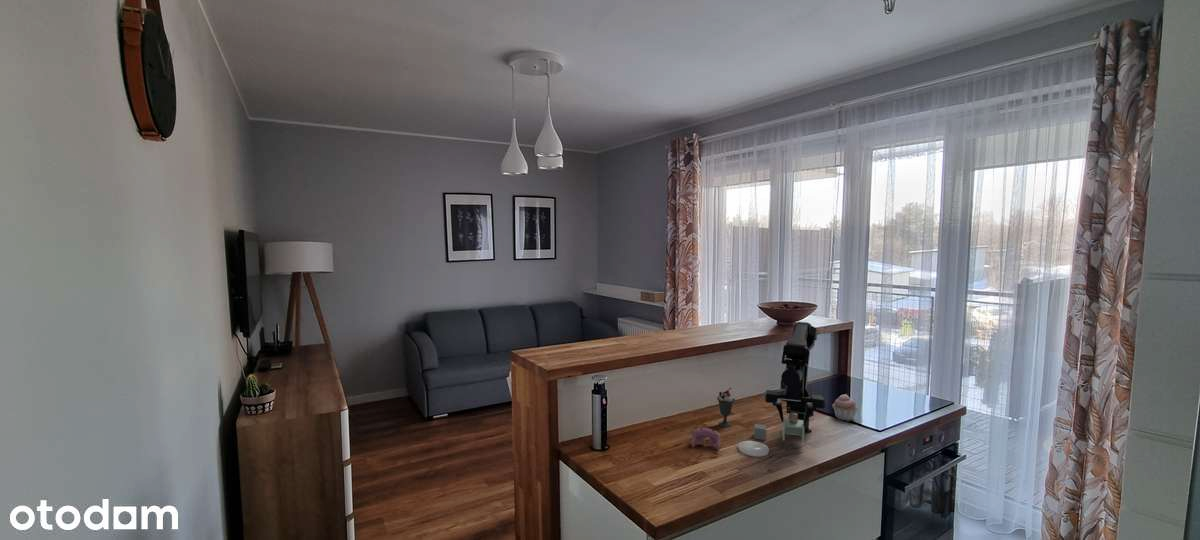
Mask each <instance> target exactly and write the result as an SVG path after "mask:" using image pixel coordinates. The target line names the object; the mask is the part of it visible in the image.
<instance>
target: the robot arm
mask: <svg viewBox="0 0 1200 540" xmlns="http://www.w3.org/2000/svg"><path fill="white" fill-rule="evenodd" d="M791 335H792V338H790V339H788V340H787V341H786V342H785V344H783V347H782V354H781V355H782V356H781V364H783V365H786V366H785V369H784V370H783V372H782V373H781V376H780V377H781V379H780V386H779V387H780V390H784V394H779V393H778V390H773V389H772V390H771V389H767V390H765V396H764V397H765V398H764V400H765V401H764V402H766V403H767V404H768V403H770V404H772V406H774V407H776V410H777V411H778V413H779V417H780V421H781V423H783V418H784V412H783V404H782V401H785V402H786V414H789V415H790V413H796V414H798V420H803V423H804V433H812V429H810V418H811V417H814V416H815V415H814V411H817V409H822V410H823V409H825V408H826V403H825V402H826V401H825V399H824V396H822V395H820V394H819V395H818V394H810V393H809V392H808V389H807V388H808V387H807V385H808V376H809V375H808V374H809V373H808V372H809V364H810V362H809V361H810V356H811V354H810V353H811V350H812V349H813V348H814V346H815V345H816V344H815V342H816V341H817V339H818V330H817V327H815V326H813V325H812V324H811V323H809V322H807V321H806V322H805V321H796V322H795V325H793V326H792V334H791ZM789 415H788V417H787V418H789Z"/></svg>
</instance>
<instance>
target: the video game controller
mask: <svg viewBox="0 0 1200 540" xmlns="http://www.w3.org/2000/svg"><path fill="white" fill-rule="evenodd" d="M705 438H707V439H708V438H709V439H708V440H707V445H708V447H714V446H715V449H716V451H717V452H719V451H720V450H721V444H722V439H721V438H722V437H721V434H720V433H719V432H718V431H716V430H714V429H712V428H706V427H702V428H696V429H694V430H693V432H692V434H691V447H692V448H695V446H696V444H697V442H698V444H699V445H701V446H704V445H705V444H706V440H705Z"/></svg>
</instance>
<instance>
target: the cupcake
mask: <svg viewBox="0 0 1200 540" xmlns="http://www.w3.org/2000/svg"><path fill="white" fill-rule="evenodd" d="M831 406H832V409H834V410H833V411H834V414H835V415H834V416H835V418H836V417H837V418H836V419H837V420H840V419H841V420H840V421H843V420H846V421H845V422H851V421H850V420H852V421H854V419H855V417H856V413H857V412H858V410H859V408H858V407H857V404H856V402H855V400H854V399H853V398H851V397H850V396H849V395H848V394H847V393H845V394H841V395H840V396H838V397H837V398H836V399H835V401H834V402H833V404H831Z"/></svg>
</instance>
